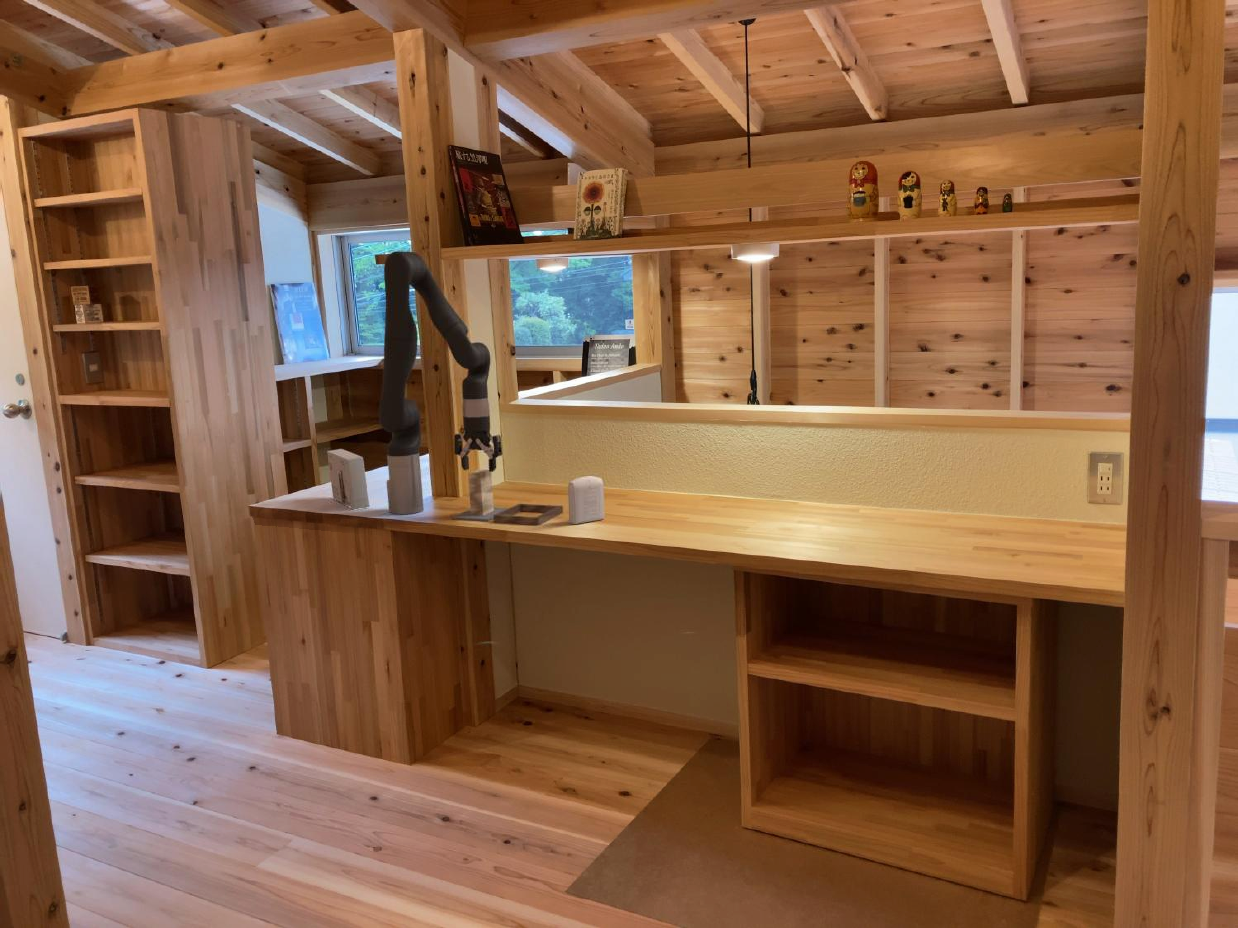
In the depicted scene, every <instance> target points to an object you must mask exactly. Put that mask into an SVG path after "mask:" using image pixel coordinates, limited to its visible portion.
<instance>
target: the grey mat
mask: <svg viewBox="0 0 1238 928" xmlns="http://www.w3.org/2000/svg"><path fill="white" fill-rule="evenodd" d="M509 508H510V507H496V506H494V511H492V512H490V513H488V514H485V515H471V508H469V509H468V510H464V511H463V512H460V513H459V514H458V513H457V514H456V515H453V516H451V520H455V519H463V520H462V521H471V520H479V521H478V522H488V521H489V522H491V521H494V516H493V515H495V514H498V513H500V512H502V511H504V510H506V509H509ZM490 520H491V521H490Z"/></svg>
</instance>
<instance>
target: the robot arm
mask: <svg viewBox="0 0 1238 928" xmlns="http://www.w3.org/2000/svg"><path fill="white" fill-rule="evenodd" d="M383 278H384V294H385V296H384V297H385V315H384V316H385V321H384V324H385V325H384V338H383V339H384V342H383V365H382V366H383V367H382V368H383V369H382V383H381V384H382V385H381V393H380V399H379V406H378V420H379V424H380V426H381V428H382V429H383V430H384V431H386V432H387V433H389V434H390V433H391V434H392V437H391V440H390V442H389V443H388V444H387V446H386V454H387V457H386V459H387V468H388V469H387V470H388V479H387V480H386V491H387V503H388V512H389V513H393V514H396V515H409V514H410V515H411V514H415V513H419V512H422V511H424V509H425V508H424V507H425V506H424V497H423V486H422V485H423V484H422V482H423V481H422V471H421V470H422V469H421V460H420V445H421V442H422V429H421V427H422V426H421V414H420V411H419V407H418V405H417V403H416V402H415V401H413V400H412V399H411V398H406V386H407V381H408V379H409V378H410V377H409V376H410V374H411V372H412V369H413V367H414V364H415V362H416V359H417V353H418V339H419V338H418V337H419V334H418V330H417V325H416V322H415V320H414V317H413V312H412V311H411V307H410V287H412V288H413V289H414V290H415V291H416V292H417V293H418V294H419V295H420V298H422V300H423V302H424V304H425V306H426V309H427V312H428V313H427V314H428V316H429V318H430V320H431V322H432V323H433V326H434V327H435V328H436V330H437V331H438V332H439V333H440V335H441V336H442V338H443V339H444V340H445V342H446V344H447V346H448V348H449V350H450V353H451V355H452V357H453V359H454V360H455V362H456V363H457V364H458V365H459V366H460V367H462V368H463V369H466V370H467V375H466V377H465V378H464V379H463V380H462V383H461V388H462V408H461V409H462V424H463V426H462V428H463V431H464V433H462V432H459V433H455V434H454V440H453V441H454V448H453V449H454V455H456V456H460V460H461V461H460V462H461V463H460V465H461V468H462V470H463V471H467V470H469V469H470V459H469V454H470V453H471V451H473V450H474V451H475V450H477V451H483V452H484V453H485V454H486V455H487V457H488V458H489V459H488V470H489V472H491V473H493V472H495V471H496V469H497V458H498V457H501V456H503V449H502V447H503V446H502V437H501V435H500V434H496V435H491V415H490V414H491V413H490V412H491V411H490V402H489V394H488V393H489V391H488V379H489V374H490V367H491V354H490V350H489V348H488V347H487V345H486V344H485V343H483V342H479V341H478V342H477V341H476V342H471V341H470V339H469V338H468V332H469V330H468V327H467V325H466V324H465V322H464V321H463V320H462V318H461V317H460V316H459V314H458V313H457V312H456V311H455V310H454V308H453V306H452V305H451V304H450V302H449V301H448V300H447V298H446V296H445V295H444V294H443V291H442V290H441V288H440V287H439V285H438V283H437V281H436V279H435V278H434V275H433V274H432V272H431V270H430V268H429V267H428V264H427V263H426V261H425V260H424V258H423V257H422V256H421V255H420V254H418V253H416V252H413V251H403V250H400V251H393V252H391V253H390V254H388V256H387V257H386V258H385V261H384V268H383ZM463 441H464V442H465V445H464V447H463ZM491 443H492V444H493V445H492V444H491Z"/></svg>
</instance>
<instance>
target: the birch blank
mask: <svg viewBox="0 0 1238 928" xmlns="http://www.w3.org/2000/svg"><path fill="white" fill-rule="evenodd" d="M467 476H468V490H469V492H468V493H469V504H470V509H471V515H485V514H488V513H490V512H492V511H494V507H495V506H494V496H493V495H494V494H493V493H494V492H493V491H494V490H493V480H492V479H493V478H492V472H489V469H481V468H480V469H476V470H473V471H471V472H468V473H467Z"/></svg>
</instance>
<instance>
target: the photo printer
mask: <svg viewBox="0 0 1238 928" xmlns="http://www.w3.org/2000/svg"><path fill="white" fill-rule="evenodd" d="M604 495H605V494H604V482H603V479H602V478H601V477H598V476H593V475H592V476H591V475H589V476H588V475H587V476H582V477H581V476H580V477H578V478H574V479H573V480H571V481H570V482H568V484H567V497H568V499H567V501H568V518H569V523H570V524H572V525H577V524H582V523H588V522H594V521H601V520H604V519H605V497H604Z"/></svg>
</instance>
